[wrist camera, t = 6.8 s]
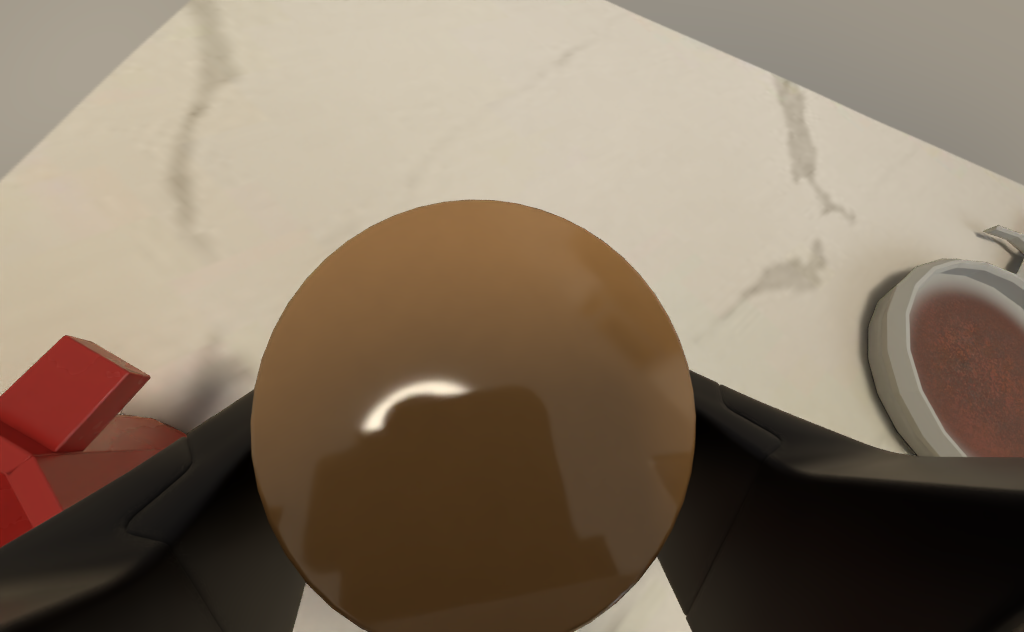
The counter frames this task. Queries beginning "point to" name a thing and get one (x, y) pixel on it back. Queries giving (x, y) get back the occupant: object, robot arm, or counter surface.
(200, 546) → the robot arm
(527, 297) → the jar
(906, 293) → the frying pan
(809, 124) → the counter surface
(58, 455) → the pot
